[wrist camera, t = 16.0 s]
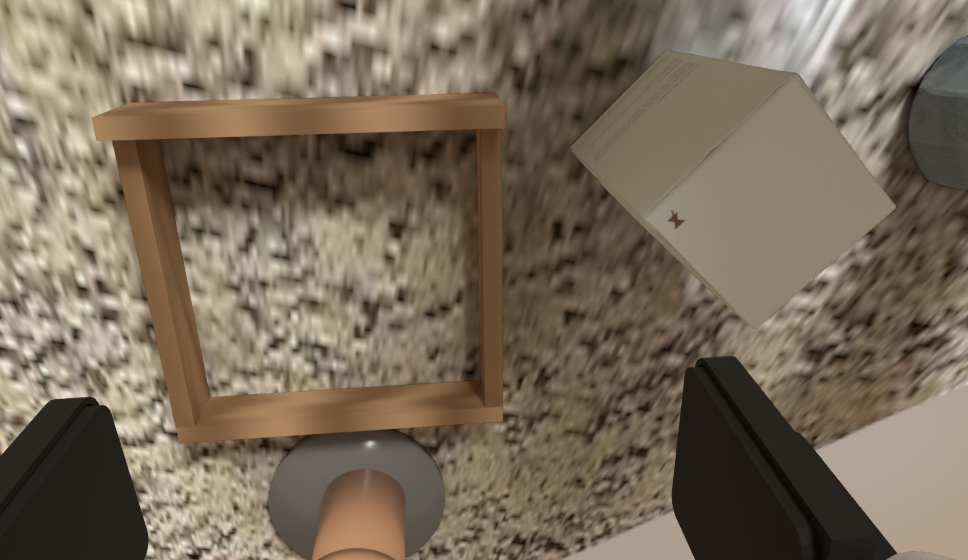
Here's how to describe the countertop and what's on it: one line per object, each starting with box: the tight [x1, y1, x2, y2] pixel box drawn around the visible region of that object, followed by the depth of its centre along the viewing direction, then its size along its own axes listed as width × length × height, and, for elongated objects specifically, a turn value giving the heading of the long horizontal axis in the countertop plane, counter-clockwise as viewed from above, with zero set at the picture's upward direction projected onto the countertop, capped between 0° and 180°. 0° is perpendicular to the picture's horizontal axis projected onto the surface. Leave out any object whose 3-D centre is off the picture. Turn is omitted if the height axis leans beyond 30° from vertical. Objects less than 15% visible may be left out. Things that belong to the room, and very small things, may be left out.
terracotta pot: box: [312, 469, 406, 560], centre depth 40 cm, size 6×6×8 cm
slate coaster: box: [268, 429, 445, 560], centre depth 44 cm, size 11×11×1 cm
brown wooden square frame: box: [92, 93, 506, 443], centre depth 36 cm, size 18×18×4 cm
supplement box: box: [570, 50, 896, 329], centre depth 31 cm, size 7×7×13 cm
